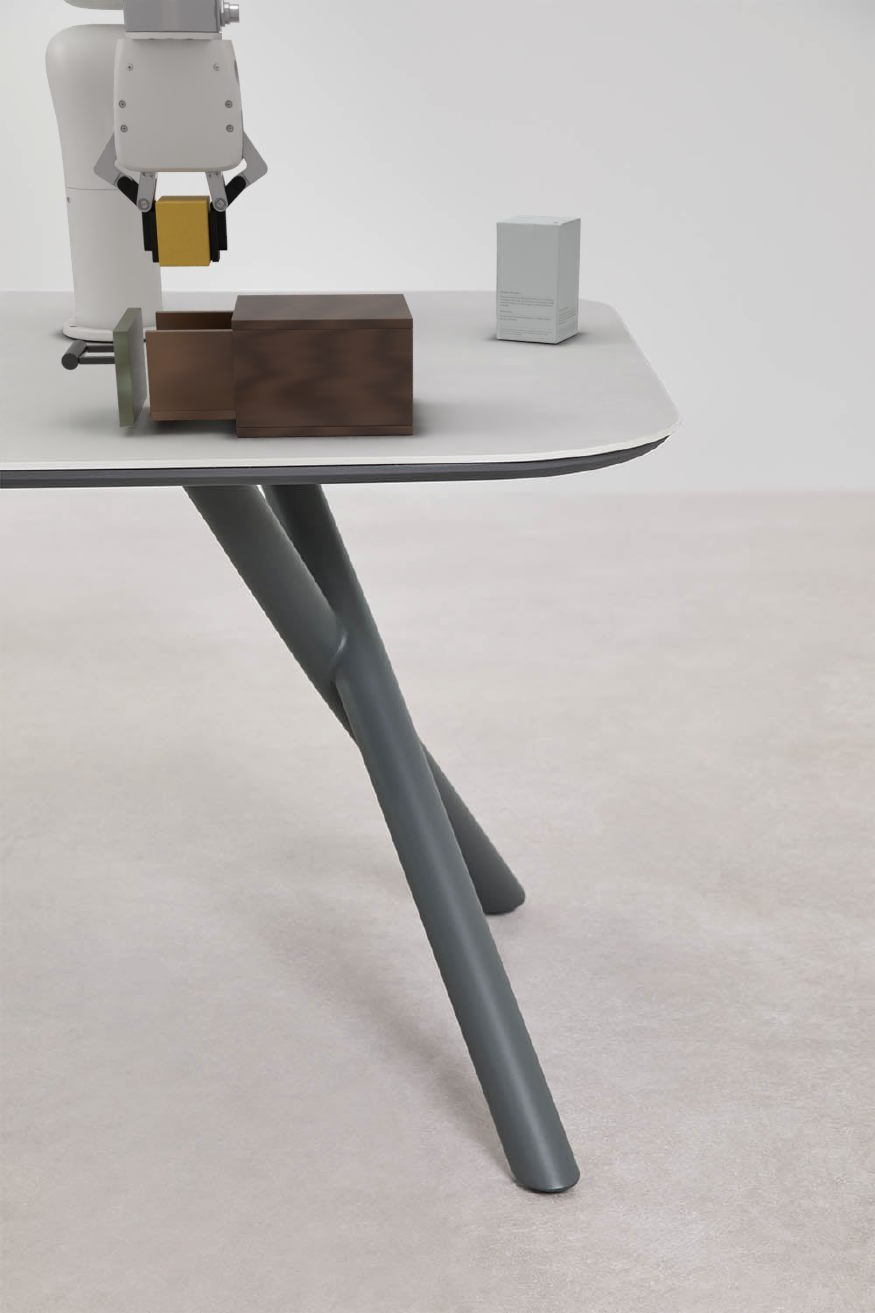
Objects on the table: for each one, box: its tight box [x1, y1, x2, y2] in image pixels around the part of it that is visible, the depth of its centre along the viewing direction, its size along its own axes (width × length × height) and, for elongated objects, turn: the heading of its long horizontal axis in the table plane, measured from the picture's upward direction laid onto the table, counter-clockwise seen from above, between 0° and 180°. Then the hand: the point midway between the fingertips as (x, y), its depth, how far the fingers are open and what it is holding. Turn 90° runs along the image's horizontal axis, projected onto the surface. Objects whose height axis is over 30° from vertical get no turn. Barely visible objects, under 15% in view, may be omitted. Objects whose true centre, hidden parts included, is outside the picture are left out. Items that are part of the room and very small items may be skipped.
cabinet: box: [231, 293, 414, 438], centre depth 128 cm, size 15×13×10 cm
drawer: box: [60, 308, 236, 428], centre depth 127 cm, size 18×11×8 cm, turn 95°
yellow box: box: [155, 194, 212, 268], centre depth 123 cm, size 6×4×5 cm, turn 5°
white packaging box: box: [495, 214, 582, 344], centre depth 164 cm, size 7×7×13 cm
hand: (186, 257), depth 124 cm, fingers closed on yellow box, 4 cm apart
